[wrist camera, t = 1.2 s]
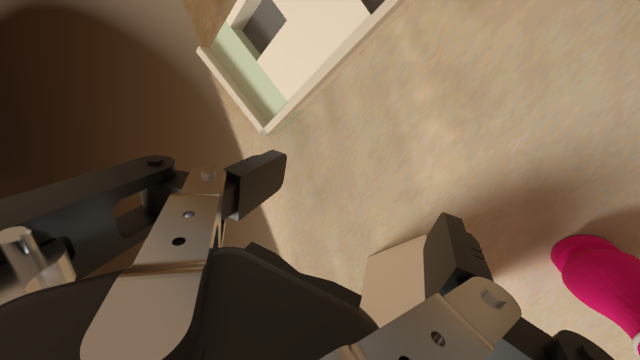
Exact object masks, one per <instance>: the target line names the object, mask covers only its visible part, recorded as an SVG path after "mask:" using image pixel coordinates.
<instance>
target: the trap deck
mask: <svg viewBox="0 0 640 360" xmlns="http://www.w3.org/2000/svg"><path fill="white" fill-rule="evenodd" d="M414 1H415V0H237V2H236V4H235V6H234V7H233V9H232V11H231V12H230V14H229V16H228V18H227V19H226V21H225V23H224V24H223V26H222V28H221V30H220V31H219V33H218V35H217V36H216V38H215V40H214V41H213V43H212V45H211V47H210V48H205V47H200V46H199V47H198V49H197V51H196V52H197V54H198V55H199V56H200V57H201V59H202V60H203V61H204V62H205V64H206V65H207V66H208V68H209V69H210V70H211V71H212V73H213V74H214V75H215V76H216V78H217V79H218V80H219V82H220V83H221V84H222V85H223V87H224V88H225V89H226V90H227V92H228V93H229V94H230V96H231V97H232V98H233V99H234V101H235V102H236V103H237V104H238V106H239V107H240V108H241V109H242V111H243V112H244V113H245V115H246V116H247V117H248V118H249V120H250V121H251V122H252V123H253V125H254V126H255V127H256V129H257V130H258V131H259V132H260V134H261V135H262V136H263V137H267V136H270V135H273V134H276V133H279V132H281V131H282V130H283V129H284V128H285V127H286V126H287V125H288V124H289V123H290V122H291V121H292V120H293V119H294V118H295V117H296V116H297V115H298V114H299V113H300V112H301V111H302V110H303V109H304V108H305V107H306V106H307V105H308V104H309V103H310V102H311V101H312V100H313V99H314V98H315V97H316V96H317V95H318V94H319V93H320V92H321V91H323V90H324V89H325V88H326V87H327V86H328V85H329V84H330V83H331V82H332V81H333V80H334V79H335V78H336V77H337V76H338V75H339V74H340V73H341V72H342V71H343V70H344V69H345V68H346V67H347V66H348V65H349V64H350V63H351V62H352V61H353V60H354V59H355V58H356V57H357V56H358V55H359V54H360V53H361V52H362V51H363V50H364V49H365V48H366V47H367V46H369V45H370V44H371V43H372V42H373V41H374V40H375V39H376V38H377V37H378V36H379V35H380V34H381V33H382V32H383V31H384V30H385V29H386V28H387V27H388V26H389V25H390V24H391V23H392V22H393V21H394V20H395V19H396V18H397V17H398V16H399V15H400V14H401V13H402V12H403V11H404V10H405V9H406V8H407V7H408V6H409V5H410V4H411V3H412V2H414Z"/></svg>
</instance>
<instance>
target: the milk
mask: <svg viewBox="0 0 640 360" xmlns="http://www.w3.org/2000/svg"><path fill="white" fill-rule="evenodd" d="M426 239H427V236H426V234H425V235H422V236H420V237H417V238H415V239H412V240H410V241H407V242H405V243H402V244H400V245H397V246H395V247H392V248H390V249H387V250H385V251H382V252H380V253H377V254H375V255H372V256H370V257H368V258H367V264H366V269H365V275H364V281H363V287H362V293H361V296H362V299H361V303H360V306H359V307H361V308H362V309H363V310H364V311H365V312H366V313H367V314H368V315H369V316H370V317H371V318H372V319H373V320H374V321H375V323H376V324H377V325H378V327H379V328H381V327H383V326H384V325H386V324H387V323H389V322H391V321H392V320H394V319H396V318H397V317H399V316H400V315H402V314H404V313H405V312H407V311H408V310H410V309H412V308H413V307H415V306H416V305H418V304H420V303H421V302H423V301H424V300H425V289H424V263H423V247H424V244H425V241H426Z"/></svg>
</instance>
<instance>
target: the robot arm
mask: <svg viewBox="0 0 640 360" xmlns="http://www.w3.org/2000/svg"><path fill="white" fill-rule="evenodd" d="M286 161H287V156H286V154H284V153H281V152H278V151H275V150H270V151H268V152H266V153H264V154H262V155H255V156H251V157H249V158H247V159H245V160H242V161H240V162H237V163H235V164H233V165H231V166H228V167H226V168H224V169H222V168H219V167H214V166H201V167H197V168H194V169H193V170H191V171H190V172H185V171H179V170H176V165H175V160H174V159H172V158H171V157H167V156H161V155H160V156H159V155H154V156H146V157H142V158H138V159H135V160H132V161H128V162H125V163H122V164H119V165H115V166H112V167H108V168H105V169H101V170H98V171H95V172H91V173H88V174H85V175H81V176H78V177H75V178H71V179H68V180H65V181H61V182H58V183H55V184H51V185H48V186H45V187H41V188H38V189H35V190H31V191H28V192H24V193H21V194H18V195H14V196H11V197H8V198H4V199H1V200H0V360H614V359H613V358H612V357H611V356H610V355H609V354H607V353H606V352H605V351H604V350H603V349H601V348H600V347H599V346H597V345H596V344H595V343H593V342H592V341H590V340H588V339H587V338H585V337H583V336H581V335H579V334H577V333H575V332H572V331H568V330H561V331H559V332H558V333H557V334H556V335H554V336H553V337H551V336H550V335H548V334H547V333H545V332H544V331H542V330H540V329H539V328H537V327H536V326H534V325H533V324H531V323H530V322H528V321H527V320H525V319H524V318H522V317H521V309H520V307H519V305H518V303H517V302H516V300H515V299H514V298H513V297H512V296H511V295H510V294H509V293H508V292H507V291H506V290H505V289H503V288H502V287H501V286H499V285H498V284H496V283H495V282H494V281H493V278H492V276H491V273H490V271H489V268H488V266H487V263H486V261H485V258H484V255H483V254H482V250H481V248H480V245H479V243H478V242H477V241H476V239H475V238H474V237H473V236H472V235H471V234H470V233H467V232H466V230H465V227H464V224H463V221H462V219H461V218H458V217H455V216H452V215H450V214H447V213H444V212H443V213H441V214H440V216H439V217H438V219H437V221H436V223H435V224H434V226H433V228H432V230H431V231H430V233H429V235H428V237H427V239H426V241H425V244H424V247H423V263H424V289H425V300H424V301H423V302H421V303H420V304H418V305H416V306H415V307H413V308H412V309H410V310H408V311H407V312H405V313H404V314H402V315H400V316H399V317H397V318H396V319H394V320H392V321H391V322H389V323H387V324H386V325H384V326H383V327H381V328H379V327H378V325H377V324H376V323H375V321H374V320H373V319H372V318H371V317H370V316H369V315H368V314H367V313H366V312H365V311H364V310H363V309H362V308H361V307H359V306H360V303H361V299H362V296H361V295H359V294H357V293H355V292H353V291H351V290H349V289H347V288H345V287H343V286H341V285H339V284H337V283H335V282H333V281H329V280H325V279H321V278H317V277H313V276H309V275H305V274H302V273H299V272H298V271H297V270H295V269H294V268H293V267H292V266H291V265H289V264H288V263H287V262H286V261H285V260H283V259H282V258H281V257H280V256H279V255H277V254H276V253H274V252H272V251H270V250H268V249H266V248H264V247H262V246H260V245H258V244H256V243H254V242H251V243H250V244H249V245H248V246H247V247H246V248H245V249H243V248H237V247H222V245H223V238H224V231H225V219H226V218H228V217H230V218H232V219H235V220H237V221H239V220H241V219H242V218H243V217H245V216H246V215H247V214H248V213H250V212H251V211H252V210H254V209H255V208H256V207H257V206H259V205H260V204H261V203H263V202H264V201H265V200H267V199H268V198H269V197H271V196H272V195H273V194H274V193H276V192H277V191H278V190H279V189H280V188H281V186H282V184H283V180H284V174H285V167H286ZM137 192H140V194H141V199H142V204H143V205H141V206H139V207H137V208H135V209H133V210H131V211H129V212H127V213H125V214H123V215H121V216H119V217H116V218H115V215H114V207H115V205H116V204H117V203H118V202H119V201H120V200H121V199H124V198H126V197H128V196H131V195H133V194H135V193H137ZM146 238H147V239H146ZM144 239H146V241H145V243H144V245H143V246H142V248H141V250H140V252H139V254H138V256H137V258H136V259H135V261H134V263H133V265H132V266H131V267H130V268H128V269H124V270H120V271H116V272H112V273H108V274H103V275H99V276H95V277H91V278H87V279H82V278H84V277H85V276H87V275H88V274H90V273H92V272H93V271H95V270H96V269H98V268H100V267H101V266H103V265H104V264H106V263H108V262H109V261H111V260H112V259H114V258H116V257H117V256H119V255H120V254H122V253H123V252H125V251H126V250H128V249H130V248H132V247H133V246H135V245H137V244H138V243H140V242H141V241H143V240H144ZM80 279H82V280H80Z"/></svg>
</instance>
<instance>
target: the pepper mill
mask: <svg viewBox="0 0 640 360" xmlns="http://www.w3.org/2000/svg"><path fill="white" fill-rule="evenodd" d="M551 259H552V262H553V263H554V264H555V266H556V267H557V268H558V270H559V271H560V272H561V273H562V279H563V282H564V284H565V285H566V287H567V288H568V289H569V290H570V291H571V292H572V293H573V295H575V296H576V297H577V298H578V299H579V300H581V301H582V302H583V303H585V304H586V305H587V306H589V307H590V308H592V309H594V310H595V311H597V312H599V313H601V314H602V315H604V316H606V317H608V318H609V319H611V320H612V321H613V322H615V323H616V324H617V325H618V326H620V327H621V328H622V329H623V330H624V331H625V332H626V333H627V334H628V335H629V336H630V337H631V339H632V348H633V351H634V352H635V354H636V355H637V356H638V357H640V260H639V259H638V258H636V257H634V256H632V255H629V254H627V253H624V252H621V251H620V250H619V249H618V248H617V247H615V246H614V245H613V244H612V243H610V242H609V241H607V240H605V239H603V238H600V237H597V236H591V235H577V236H572V237H569V238H566V239H563V240H561V241H560V242H558V243H557V244H556V245H555V246H554V247H553V249H552V251H551Z"/></svg>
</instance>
